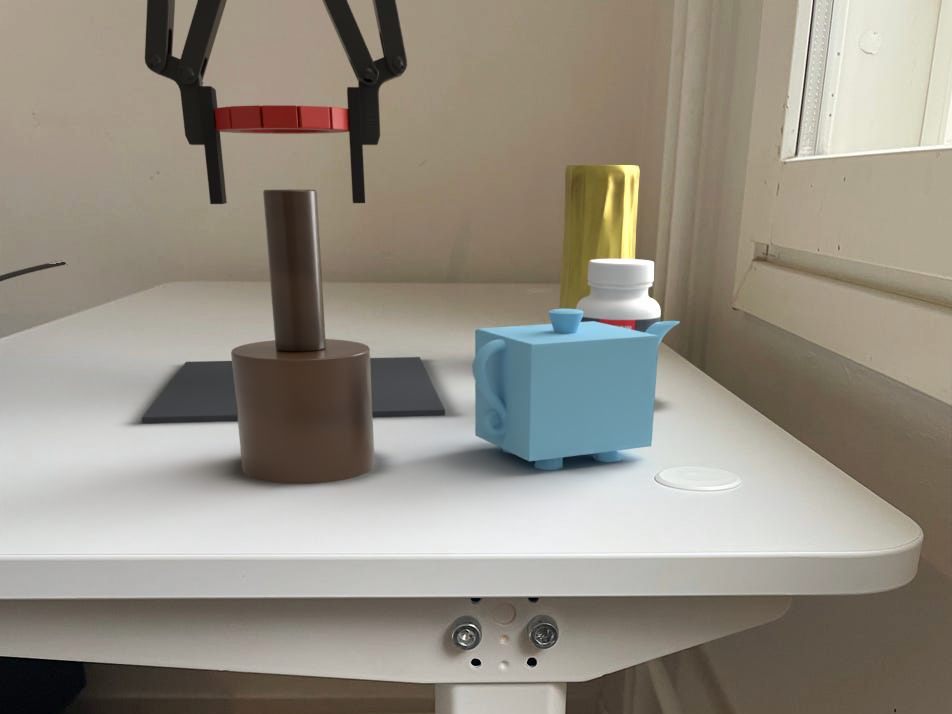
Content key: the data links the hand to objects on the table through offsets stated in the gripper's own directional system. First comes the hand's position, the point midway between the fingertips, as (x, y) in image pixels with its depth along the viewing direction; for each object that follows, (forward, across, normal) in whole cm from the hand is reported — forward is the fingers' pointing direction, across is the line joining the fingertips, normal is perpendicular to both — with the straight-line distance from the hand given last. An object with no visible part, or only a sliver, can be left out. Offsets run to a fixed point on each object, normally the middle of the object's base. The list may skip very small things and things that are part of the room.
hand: (289, 202), depth 65 cm
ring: (-4, 0, 0) cm, 4 cm away
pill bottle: (+12, +20, -8) cm, 25 cm away
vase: (+12, +22, +6) cm, 26 cm away
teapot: (+12, +15, -20) cm, 28 cm away
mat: (+12, 0, 0) cm, 12 cm away
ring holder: (+12, +1, -21) cm, 24 cm away
